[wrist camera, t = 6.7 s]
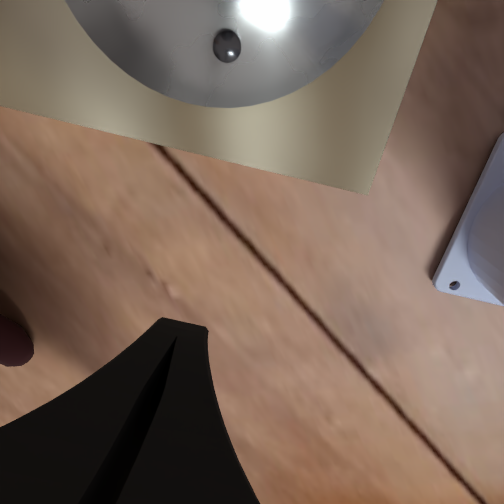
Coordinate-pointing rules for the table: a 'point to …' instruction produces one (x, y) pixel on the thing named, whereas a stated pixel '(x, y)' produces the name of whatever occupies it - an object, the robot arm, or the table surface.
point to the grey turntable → (224, 44)
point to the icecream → (14, 344)
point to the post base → (221, 119)
